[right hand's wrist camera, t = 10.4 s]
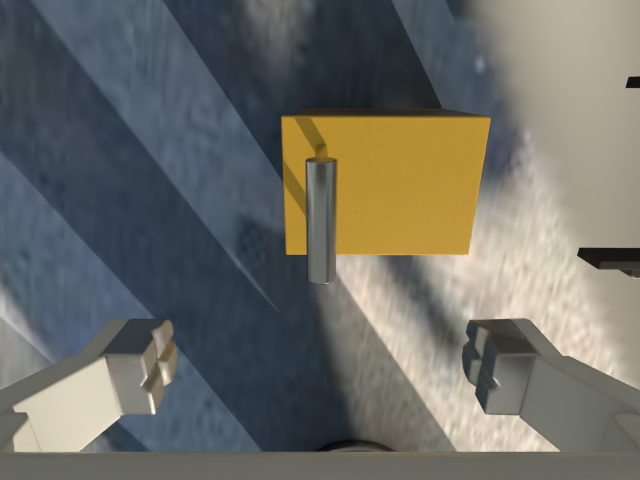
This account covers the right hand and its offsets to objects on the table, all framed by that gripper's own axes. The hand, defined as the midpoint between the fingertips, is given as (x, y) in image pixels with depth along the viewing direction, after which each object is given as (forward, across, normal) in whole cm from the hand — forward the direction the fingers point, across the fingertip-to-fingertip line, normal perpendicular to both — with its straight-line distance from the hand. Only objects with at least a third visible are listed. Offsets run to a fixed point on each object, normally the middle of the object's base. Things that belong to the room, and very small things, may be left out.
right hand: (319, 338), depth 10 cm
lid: (+17, +4, 0) cm, 18 cm away
